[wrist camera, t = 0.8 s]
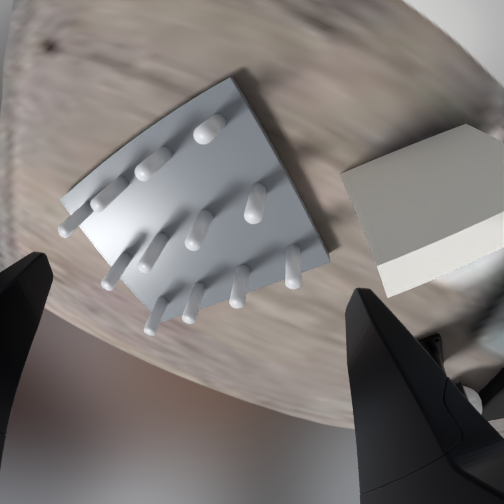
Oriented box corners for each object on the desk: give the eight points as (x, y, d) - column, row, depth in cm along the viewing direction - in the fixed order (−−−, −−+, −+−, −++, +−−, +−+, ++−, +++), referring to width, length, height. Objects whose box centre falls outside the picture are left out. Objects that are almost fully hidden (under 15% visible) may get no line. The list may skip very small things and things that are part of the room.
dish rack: (328, 253, 23) (335, 294, 19) (163, 314, 28) (148, 351, 25) (232, 76, 17) (217, 80, 13) (66, 194, 22) (34, 221, 18)
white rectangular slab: (471, 147, 17) (563, 215, 9) (349, 196, 20) (387, 297, 12) (465, 123, 16) (563, 180, 8) (339, 174, 19) (376, 266, 11)
